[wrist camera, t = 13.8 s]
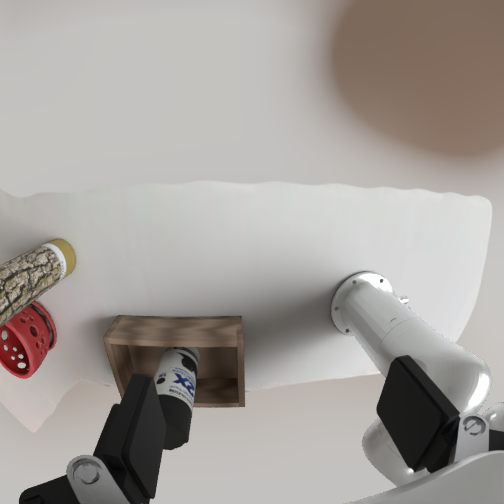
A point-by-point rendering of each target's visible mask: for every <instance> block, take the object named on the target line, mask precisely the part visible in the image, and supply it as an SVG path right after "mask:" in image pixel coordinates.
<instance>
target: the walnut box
mask: <svg viewBox="0 0 504 504" xmlns="http://www.w3.org/2000/svg"><path fill="white" fill-rule="evenodd" d="M103 340H104V343H105V347H106V351H107V354H108V358H109V361H110V365H111V368H112V371H113V375H114V378H115V381H116V384H117V387H118V390H119V393H120V396H121V399H122V398H123V395H124V393H125V391H126V388H127V386H128V383H129V381H130V378H131V376H132V374H133V373H141V374H148V375H149V377H150V378H153V379H154V376H155V372H156V369H157V366H158V363H159V360H160V357H161V354H162V351H163V349H164V347H197V349H198V351H199V365H198V372H197V379H196V387H195V394H194V402H193V407H245V381H244V338H243V328H242V317H241V316H220V317H160V316H124V315H119V316H118V317H117V318H116V320H115V321H114V323H113V324H112V326H111V327H110V328H109V330H108V331H107V333H106V334H105V336H104V337H103Z"/></svg>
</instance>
